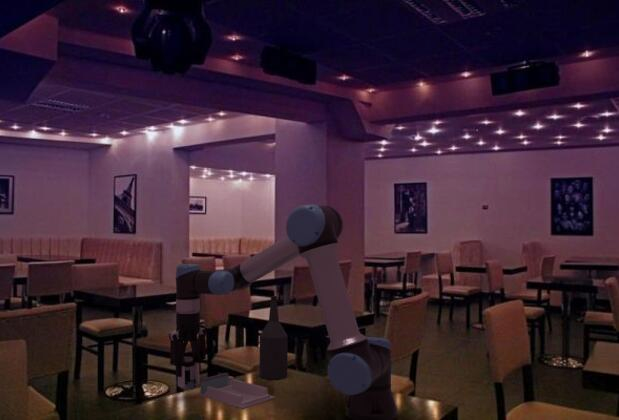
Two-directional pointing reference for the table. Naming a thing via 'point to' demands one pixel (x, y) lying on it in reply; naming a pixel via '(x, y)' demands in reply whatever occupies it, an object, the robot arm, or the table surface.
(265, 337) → the bottle
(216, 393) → the tray
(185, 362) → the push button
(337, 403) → the table surface
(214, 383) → the dark slender plank
